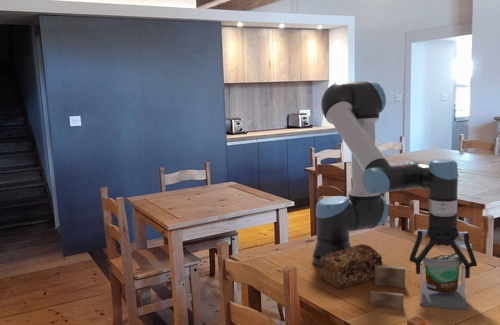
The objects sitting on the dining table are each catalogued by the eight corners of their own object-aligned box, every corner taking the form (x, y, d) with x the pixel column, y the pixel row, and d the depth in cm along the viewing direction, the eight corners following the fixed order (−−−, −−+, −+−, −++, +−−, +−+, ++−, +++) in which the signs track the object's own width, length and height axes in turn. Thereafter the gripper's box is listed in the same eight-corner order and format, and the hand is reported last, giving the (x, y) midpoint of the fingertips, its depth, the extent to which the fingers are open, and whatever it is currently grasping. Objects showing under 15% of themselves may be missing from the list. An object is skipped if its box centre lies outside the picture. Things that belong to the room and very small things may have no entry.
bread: (362, 268, 162) (362, 240, 160) (384, 278, 152) (383, 249, 151) (318, 279, 154) (317, 250, 152) (338, 291, 144) (337, 260, 143)
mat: (420, 305, 131) (420, 302, 131) (420, 284, 145) (420, 282, 145) (466, 310, 127) (466, 307, 127) (462, 288, 141) (462, 285, 141)
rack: (370, 305, 133) (370, 285, 132) (375, 283, 148) (375, 265, 147) (403, 309, 130) (403, 288, 129) (405, 286, 145) (405, 267, 144)
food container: (437, 297, 131) (437, 263, 130) (422, 289, 137) (422, 256, 136) (472, 289, 135) (472, 256, 133) (456, 281, 141) (456, 250, 139)
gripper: (399, 214, 133) (400, 287, 136) (489, 218, 125) (487, 295, 128) (401, 208, 140) (401, 277, 143) (486, 211, 132) (484, 285, 135)
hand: (442, 286), depth 136 cm, fingers closed on food container, 11 cm apart
